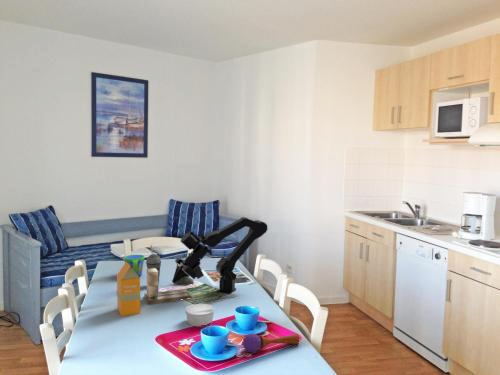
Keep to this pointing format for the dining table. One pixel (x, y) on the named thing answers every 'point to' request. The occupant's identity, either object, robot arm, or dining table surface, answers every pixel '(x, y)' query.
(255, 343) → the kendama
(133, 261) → the snack cup
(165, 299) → the gauge board
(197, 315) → the ramekin
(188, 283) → the sword in stone
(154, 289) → the slider block
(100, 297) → the dining table surface
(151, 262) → the beverage cup
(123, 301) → the orange juice
